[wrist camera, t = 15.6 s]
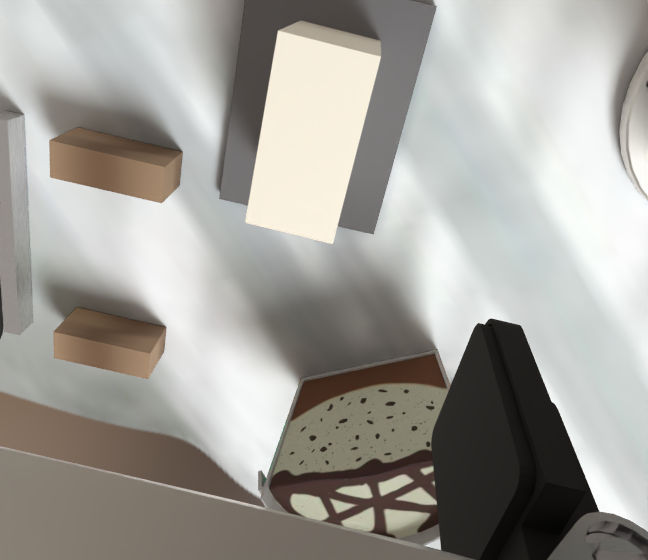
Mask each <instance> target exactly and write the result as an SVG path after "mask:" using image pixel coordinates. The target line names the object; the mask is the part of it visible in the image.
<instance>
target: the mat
mask: <svg viewBox="0 0 648 560" xmlns="http://www.w3.org/2000/svg"><path fill="white" fill-rule="evenodd" d="M436 7H437V6H434V5H429V4H425V3H421V2H417V1H413V0H245V6H244V13H243V21H242V29H241V36H240V44H239V52H238V59H237V67H236V75H235V82H234V90H233V98H232V105H231V113H230V121H229V129H228V136H227V144H226V152H225V159H224V167H223V175H222V182H221V190H220V198H219V199H223V200H227V201H232V202H236V203H240V204H244V205H248V203H249V197H250V191H251V185H252V179H253V174H254V168H255V162H256V156H257V150H258V144H259V139H260V133H261V127H262V121H263V115H264V109H265V104H266V98H267V92H268V86H269V80H270V74H271V69H272V63H273V57H274V51H275V45H276V39H277V34H278V30H280V29H283V28H285V27H287V26H289V25H292V24H294V23H296V22H298V21H305V22H309V23H313V24H317V25H321V26H325V27H329V28H333V29H337V30H341V31H344V32H348V33H352V34H356V35H360V36H364V37H368V38H372V39H376V40H380V41H381V59H380V63H379V67H378V71H377V75H376V78H375V82H374V86H373V90H372V94H371V98H370V102H369V106H368V109H367V113H366V117H365V121H364V125H363V129H362V133H361V137H360V141H359V144H358V148H357V152H356V156H355V160H354V164H353V168H352V172H351V176H350V179H349V183H348V187H347V191H346V195H345V199H344V203H343V207H342V210H341V214H340V218H339V222H338V226H339V227H344V228H348V229H352V230H357V231H361V232H365V233H370V234H374V230H375V227H376V223H377V220H378V216H379V212H380V209H381V205H382V202H383V198H384V194H385V191H386V187H387V184H388V180H389V176H390V173H391V169H392V166H393V162H394V158H395V155H396V151H397V148H398V144H399V140H400V137H401V133H402V130H403V126H404V122H405V119H406V115H407V112H408V108H409V104H410V101H411V97H412V94H413V90H414V86H415V83H416V79H417V76H418V72H419V68H420V65H421V61H422V58H423V54H424V50H425V47H426V43H427V40H428V36H429V32H430V29H431V25H432V21H433V18H434V14H435V11H436Z"/></svg>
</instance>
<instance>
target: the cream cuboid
mask: <svg viewBox="0 0 648 560" xmlns="http://www.w3.org/2000/svg"><path fill="white" fill-rule="evenodd" d="M380 59H381V41H380V40H376V39H372V38H368V37H364V36H360V35H356V34H352V33H348V32H344V31H341V30H337V29H333V28H329V27H325V26H321V25H317V24H313V23H309V22H305V21H298V22H296V23H294V24H292V25H289V26H287V27H285V28H283V29H280V30H278V34H277V39H276V45H275V51H274V57H273V63H272V69H271V74H270V80H269V86H268V92H267V98H266V104H265V109H264V115H263V121H262V127H261V133H260V139H259V144H258V150H257V156H256V162H255V168H254V174H253V179H252V185H251V191H250V197H249V203H248V209H247V214H246V220H245V223H248V224H252V225H257V226H261V227H265V228H269V229H273V230H277V231H281V232H285V233H289V234H293V235H298V236H302V237H306V238H310V239H314V240H318V241H322V242H326V243H330V244H333V242H334V238H335V234H336V230H337V226H338V222H339V218H340V214H341V210H342V207H343V203H344V199H345V195H346V191H347V187H348V183H349V179H350V176H351V172H352V168H353V164H354V160H355V156H356V152H357V148H358V144H359V141H360V137H361V133H362V129H363V125H364V121H365V117H366V113H367V109H368V106H369V102H370V98H371V94H372V90H373V86H374V82H375V78H376V75H377V71H378V67H379V63H380Z"/></svg>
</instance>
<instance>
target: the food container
mask: <svg viewBox="0 0 648 560" xmlns="http://www.w3.org/2000/svg"><path fill="white" fill-rule="evenodd" d="M449 389H450V383H449V380H448V378H447V375H446V372H445V369H444V366H443V364H442V361H441V358H440V355H439V352H438V350H432V351H427V352H423V353H418V354H413V355H408V356H404V357H399V358H394V359H390V360H385V361H380V362H375V363H371V364H366V365H361V366H356V367H352V368H347V369H342V370H338V371H333V372H328V373H323V374H319V375H314V376H309V377H304V378H301V379H300V382H299V385H298V388H297V391H296V394H295V397H294V400H293V403H292V405H291V408H290V411H289V414H288V417H287V420H286V423H285V426H284V429H283V432H282V434H281V437H280V440H279V443H278V446H277V449H276V452H275V455H274V458H273V461H272V464H271V466H270V469H269V472H268V475H267V478H266V477H265V476H264V474H263V473H262V471H258V490H259V492H260V493H261V500H262V502H263V504H264V505H265V507H266V508H268V509H273V510H277V511H281V512H285V513H290V514H294V515H298V516H302V517H307V518H311V519H315V520H319V521H324V522H328V523H332V524H336V525H341V526H345V527H349V528H353V529H357V530H361V531H366V532H370V533H374V534H378V535H382V536H387V537H391V538H395V539H399V540H404V541H408V542H412V543H416V544H419V545H423V546H425V545H427V544H429V543H431V542H433V541H436V540H437V539H439V538H440V532H439V521H438V511H437V501H436V490H435V480H434V470H433V460H432V449H431V438H432V432H433V429H434V426H435V423H436V421H437V418H438V416H439V413H440V411H441V408H442V406H443V403H444V401H445V399H446V396H447V394H448V391H449Z"/></svg>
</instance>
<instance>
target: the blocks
mask: <svg viewBox="0 0 648 560" xmlns="http://www.w3.org/2000/svg"><path fill="white" fill-rule="evenodd" d="M49 143H50V177H51V178H55V179H60V180H64V181H68V182H73V183H77V184H81V185H86V186H90V187H94V188H99V189H103V190H107V191H112V192H116V193H120V194H125V195H129V196H133V197H138V198H142V199H146V200H150V201H155V202H159V203H162V202H163V201H164V200H165V199H166V198H167V197H168V196H169V195H170V194H171V193H172V192H173V191H174V190H175V189H176V188H177V187H178V186H179V185H180V175H181V164H182V154H183V152H181V151H177V150H172V149H168V148H164V147H160V146H155V145H151V144H147V143H142V142H138V141H134V140H130V139H125V138H121V137H117V136H112V135H108V134H104V133H100V132H95V131H91V130H87V129H82V128H78V127H77V128H75V129H73V130H70V131H68V132H66V133H64V134H62V135H60V136H58V137H56V138H53V139H51V140H49ZM0 279H1V293H2V307H3V321H4V332H8V333H12V334H17V335H20V334H21V333H22V332H23V331H24V330H25V329H26V328H27V327H28V326H29V325H30V324H31V323H32V322H33V313H32V289H31V265H30V242H29V218H28V194H27V170H26V147H25V123H24V115H22V114H18V113H14V112H10V111H4V112H1V113H0ZM165 336H166V327H162V326H158V325H153V324H149V323H145V322H140V321H136V320H131V319H127V318H123V317H118V316H114V315H109V314H105V313H100V312H96V311H92V310H87V309H83V308H78V307H76V309H75V310H74V311H73V312H72V313H71V314H70V315H69V316H68V317H67V318H66V319H65V320H64V321H63V322H62V323H61V325H60V326H59V327H58V328H57V329H56V330H55V331H54V358H57V359H61V360H66V361H70V362H74V363H79V364H83V365H88V366H92V367H97V368H101V369H106V370H110V371H115V372H119V373H124V374H128V375H133V376H137V377H141V378H146V379H148V378H149V376H150V375H151V373H152V371H153V370H154V368H155V366H156V364H157V363H158V361H159V359H160V358H161V356H162V354H163V353H164V347H165Z"/></svg>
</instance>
